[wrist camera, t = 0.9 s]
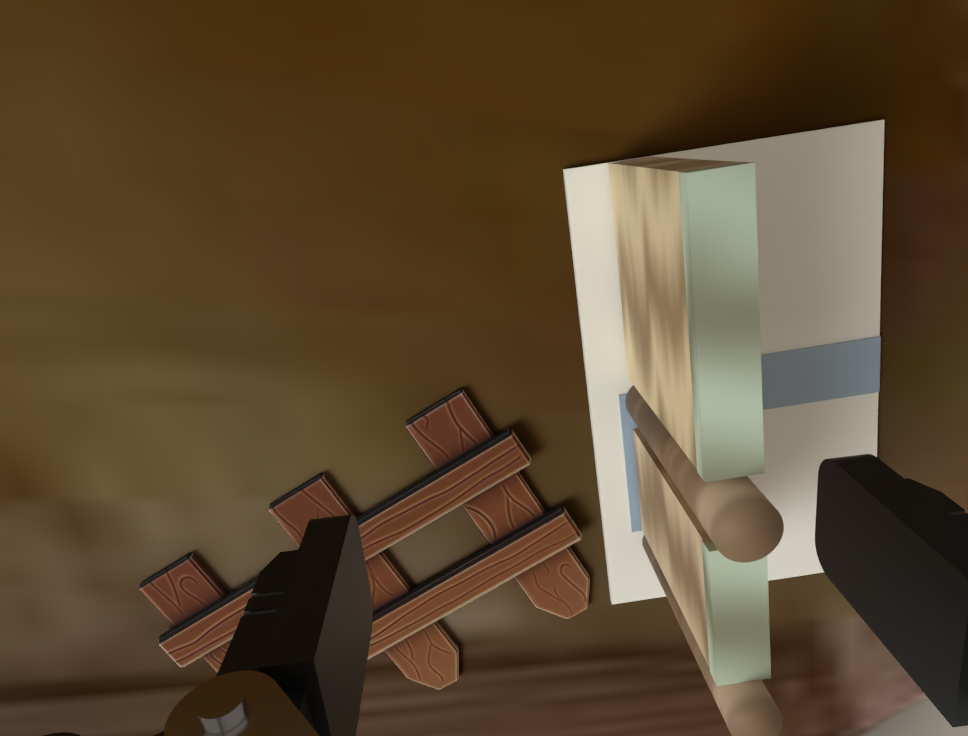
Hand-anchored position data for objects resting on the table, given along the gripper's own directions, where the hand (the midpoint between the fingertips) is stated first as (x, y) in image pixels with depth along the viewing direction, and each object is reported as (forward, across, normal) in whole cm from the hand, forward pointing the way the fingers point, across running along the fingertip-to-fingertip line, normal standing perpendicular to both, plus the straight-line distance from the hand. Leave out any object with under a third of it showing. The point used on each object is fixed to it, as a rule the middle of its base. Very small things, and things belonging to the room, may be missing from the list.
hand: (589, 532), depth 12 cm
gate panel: (+23, -7, +1) cm, 24 cm away
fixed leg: (+23, -7, +12) cm, 27 cm away
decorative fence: (+24, +9, +17) cm, 31 cm away
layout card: (+24, -11, +7) cm, 27 cm away
